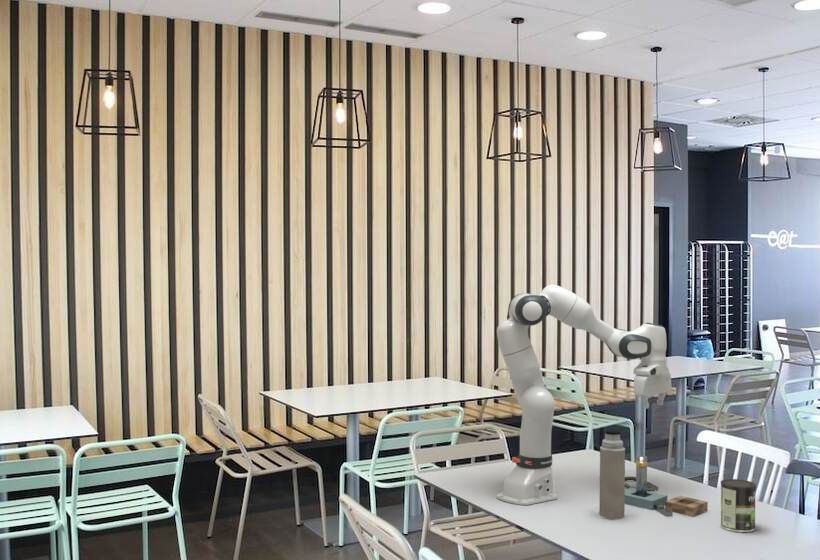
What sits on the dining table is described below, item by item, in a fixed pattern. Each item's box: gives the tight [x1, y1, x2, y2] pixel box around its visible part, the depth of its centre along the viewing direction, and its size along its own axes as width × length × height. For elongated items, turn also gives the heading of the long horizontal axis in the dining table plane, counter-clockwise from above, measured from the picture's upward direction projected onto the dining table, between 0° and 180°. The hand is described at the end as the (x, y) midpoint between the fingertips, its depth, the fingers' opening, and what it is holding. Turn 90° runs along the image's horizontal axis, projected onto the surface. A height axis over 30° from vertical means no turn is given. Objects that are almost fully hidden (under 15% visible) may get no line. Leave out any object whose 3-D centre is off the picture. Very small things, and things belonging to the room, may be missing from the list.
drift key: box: [653, 504, 673, 518], centre depth 282 cm, size 8×2×2 cm, turn 14°
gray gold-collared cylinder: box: [635, 454, 648, 497], centre depth 293 cm, size 4×4×16 cm
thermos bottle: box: [599, 429, 626, 520], centre depth 278 cm, size 8×8×28 cm
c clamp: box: [625, 476, 659, 492], centre depth 314 cm, size 20×17×3 cm
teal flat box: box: [625, 488, 669, 511], centre depth 293 cm, size 10×14×3 cm
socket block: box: [664, 495, 709, 518], centre depth 284 cm, size 10×10×3 cm
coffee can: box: [720, 478, 757, 533], centre depth 266 cm, size 10×10×14 cm
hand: (653, 406), depth 305 cm, fingers open, 8 cm apart
